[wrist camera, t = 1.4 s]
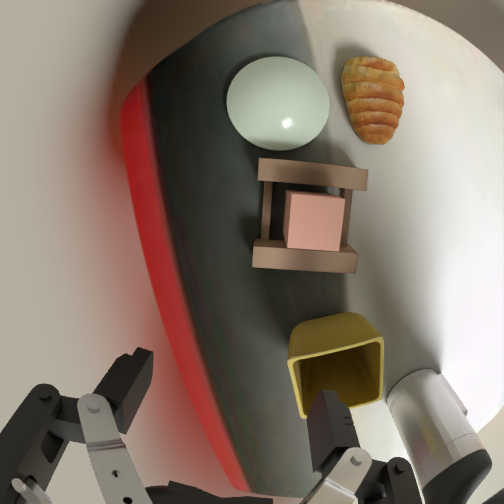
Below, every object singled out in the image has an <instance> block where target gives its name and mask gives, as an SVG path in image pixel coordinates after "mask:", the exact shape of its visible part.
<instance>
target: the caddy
mask: <svg viewBox="0 0 504 504" xmlns="http://www.w3.org/2000/svg"><path fill="white" fill-rule="evenodd" d="M367 177H368V170H366V169H360V168H353V167H346V166H338V165H330V164H322V163H313V162H303V161H293V160H281V159H267V158H259V166H258V180H260V181H264V196H263V211H262V226H261V239H257V238H255V240H254V247H253V263H252V267H258V268H272V269H287V270H303V271H319V272H336V273H353V274H355V270H356V264H357V258H358V253H357V252H356V251H355V250H354V249H352V248H351V247H350V246H349V245H346V242H347V235H348V227H349V219H350V210H351V201H352V191H353V189H354V190H361V191H366V189H367ZM273 181H274V182H287V183H299V184H309V185H319V186H329V187H337V188H343V193H342V198H343V199H345V206H344V215H343V224H342V232H341V240H340V247H339V251H325V250H311V249H297V248H287V245H286V242H285V240H271V239H269V228H270V214H271V200H272V186H273Z"/></svg>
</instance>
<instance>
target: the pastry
mask: <svg viewBox="0 0 504 504" xmlns="http://www.w3.org/2000/svg"><path fill="white" fill-rule="evenodd" d="M341 82H342V90H343V93H344V99H345V103H346V107H347V110H348V114H349V117H350V121H351V124H352V127H353V129H354V131H355V132H356V134H357V136H358V137H359V138H360V139H361V140H362V141H363V142H365V143H369V144H380V145H383V144H385V143H386V142H388V141H389V140H390V139H391V138H392V136H393V133H394V131H395V129H396V128H397V127H398V125H399V124H398V122H399V118H400V116H401V114H402V107H403V105H404V100H403V94H402V91H403V89H404V82H403V80H402V79H401V78H400V77H399V72H398V70H397V68H396V65H395V64H394V63H393V62H391V61H388V60H385V59H382V58H379V57H367V56H359V57H354V58H351V59H348V60H347V61H346V63H345V66H344V69H343V72H342V74H341Z"/></svg>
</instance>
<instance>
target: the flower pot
mask: <svg viewBox="0 0 504 504" xmlns="http://www.w3.org/2000/svg"><path fill="white" fill-rule="evenodd" d="M287 364H288V368H289V372H290V376H291V380H292V384H293V388H294V392H295V396H296V400H297V405H298V409H299V414H300V417H301V418H307V414H308V411H309V408H310V407H311V405H312V403H313V401H314V400H315V398H316V396H317V394H318V392H319V391H320V390H330V391H336V392H337V395H338V399H339V402H344V403H345V404H346V406H347V407H348V408H349V409H352V408H356V407H360V406H363V405H367V404H370V403H374V402H376V401H379V400H381V399H382V396H383V369H384V339H383V337H382V336H381V335H380V334H379V333H378V332H377V330H376V329H375V328H374V327H373V326H372V325H371V324H370V323H369V322H368V321H367V320H366V319H365V318H364V317H363V316H361V315H359V314H356V313H351V312H345V313H338V314H334V315H330V316H325V317H321V318H317V319H312V320H307V321H304V322H302V323H300V324H298V325H297V326H296V327H295V328H294V329H293V331H292V333H291V336H290V342H289V351H288V360H287Z"/></svg>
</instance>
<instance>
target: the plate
mask: <svg viewBox="0 0 504 504" xmlns="http://www.w3.org/2000/svg"><path fill="white" fill-rule="evenodd" d="M227 110H228V114H229V117H230V119H231V122H232V123H233V125H234V127H235V128H236V130H237V131H238V132H239V133H240V134H241V135H242V136H243V137H244V138H245V139H246V140H248V141H249V142H250V143H252V144H254V145H256V146H258V147H261V148H264V149H268V150H274V151H285V150H291V149H296V148H298V147H301V146H303V145H305V144H307V143H308V142H310V141H311V140H312V139H314V138H315V137H316V136H317V135H318V134H319V133H320V132H321V130H322V129H323V127H324V126H325V124H326V121H327V119H328V116H329V110H330V100H329V94H328V91H327V88H326V86H325V84H324V82H323V81H322V79H321V78H320V77H319V76H318V74H317V73H316V72H315V71H314V70H312V69H311V68H310V67H308V66H307V65H305V64H304V63H302V62H300V61H297V60H294V59H291V58H287V57H266V58H262V59H259V60H256V61H254V62H252V63H250V64H248V65H247V66H245V67H244V68H243V69H241V70H240V71H239V72H238V74H237V75H236V76H235V77H234V79H233V80H232V82H231V84H230V86H229V90H228V94H227Z"/></svg>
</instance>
